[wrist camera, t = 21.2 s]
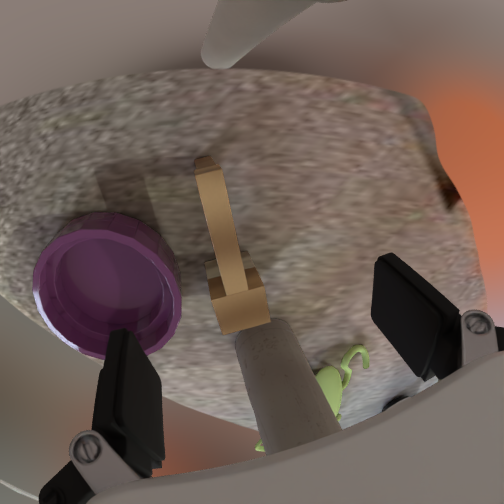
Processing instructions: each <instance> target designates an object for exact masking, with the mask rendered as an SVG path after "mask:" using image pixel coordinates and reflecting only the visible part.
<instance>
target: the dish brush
mask: <svg viewBox="0 0 504 504" xmlns="http://www.w3.org/2000/svg"><path fill="white" fill-rule="evenodd" d="M194 162H195V166H196V170H194V173H195V178H196V182H197V186H198V190H199V194H200V198H201V202H202V206H203V210H204V214H205V218H206V222H207V226H208V229H209V233H210V237H211V241H212V245H213V248H214V252H215V256H216V259H215V260H211V261H207V262H204V263H205V269H206V275H207V280H208V286H209V291H210V297H211V301H212V304H213V308H214V311H215V314H216V317H217V320H218V323H219V326H220V329H221V332H222V334H223V335H226V334H229V333H233V332H237V331H240V330H244V329H248V328H251V327H255V326H258V325H262V324H265V323H268V322H271V320H270V314H269V309H268V304H267V298H266V293H265V288H264V285H263V282H262V280H261V278H260V276H259V274H258V272H257V270H256V268H255V266H254V263H253V261H252V259H251V257H250V255H249V253H248V251H245V252H241V253H240V249H239V244H238V240H237V235H236V231H235V226H234V222H233V217H232V213H231V208H230V203H229V199H228V194H227V190H226V185H225V180H224V176H223V171H222V168H221V167H220V165H219V164H217V165H216V164H215V162H214V161H213V159H212V158H211V156H207V157H203V158H199V159H195V160H194Z"/></svg>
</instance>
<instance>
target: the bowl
mask: <svg viewBox="0 0 504 504" xmlns="http://www.w3.org/2000/svg"><path fill="white" fill-rule="evenodd" d="M32 291H33V295H34V299H35V302H36V306H37V309H38V311H39V313H40V315H41V316H42V318H43V319H44V321H45V323H46V324H47V326H48V327H49V328H50V330H51V331H52V332H53V333H54V334H56V335H57V336H58V337H59V338H60V339H61V340H62V341H63V342H64V343H65V344H67V345H69V346H70V347H72V348H74V349H76V350H77V351H79V352H81V353H83V354H85V355H88V356H92V357H95V358H99V359H102V360H105V355H106V350H107V345H108V340H109V335H110V332H111V331H113V330H117V329H122V328H126V329H127V330H128V331H132V332H133V333H134V335H135V337H136V338H137V340H138V342H139V344H140V345H141V347H142V349H143V350H144V352H145V354H146V356H147V355H149V354H151V353H153V352H155V351H157V350H159V349H161V348H162V347H163V346H164V345H165V344H166V343H167V342H168V341H169V340H170V339H171V337H172V336H173V335H174V334H175V331H176V329H177V326H178V324H179V322H180V319H181V274H180V270H179V267H178V264H177V261H176V259H175V256H174V253H173V251H172V250H171V249H170V248H169V246H168V245H167V244H166V242H165V241H164V240H163V238H162V237H161V236H160V235H159V234H158V233H157V232H155V231H154V230H153V229H151V228H150V227H148V226H147V225H146V224H144V223H143V222H141V221H139V220H137V219H134V218H131V217H128V216H125V215H122V214H119V213H109V212H94V213H90V214H87V215H84V216H81V217H79V218H76V219H73V220H72V221H70V222H69V223H68V224H67V225H66V226H65V227H63V228H62V229H61V230H60V231H59V232H58V233H57V234H56V235H55V236H54V237H53V239H52V240H51V241H50V242H49V244H48V245H47V246H46V247H45V249H44V250H43V251H42V253H41V255H40V257H39V259H38V261H37V264H36V266H35V268H34V271H33V289H32Z"/></svg>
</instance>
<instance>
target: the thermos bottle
mask: <svg viewBox="0 0 504 504" xmlns="http://www.w3.org/2000/svg"><path fill="white" fill-rule="evenodd" d="M270 320H271V322H268V323H265V324H262V325H258V326H255V327H251V328H248V329H244V330H242V331H241V332H240V333H239V335H238V336H237V339H236V342H235V348H236V353H237V357H238V360H239V364H240V367H241V371H242V374H243V378H244V382H245V385H246V389H247V392H248V396H249V399H250V402H251V405H252V408H253V410H254V413H255V417H256V421H257V425H258V430H259V433H260V436H261V440H262V443H263V446H264V450H265V453H266V456H267V455H271V454H274V453H278V452H281V451H285V450H288V449H291V448H294V447H297V446H300V445H303V444H306V443H309V442H312V441H315V440H318V439H320V438H323V437H326V436H328V435H331V434H334V433H336V432H339V431H341V430H342V428H341V426H340V424H339V422H338V420H337V418H336V416H335V414H334V413H333V411H332V409H331V407H330V405H329V403H328V401H327V399H326V397H325V395H324V393H323V391H322V389H321V387H320V385H319V383H318V381H317V379H316V378H315V376H314V374H313V372H312V370H311V367H310V365H309V363H308V361H307V359H306V357H305V355H304V353H303V351H302V349H301V347H300V345H299V343H298V341H297V339H296V337H295V335H294V333H293V331H292V329H291V327H290V326H289V325H288V324H287V323H286V322H284V321H282V320H279V319H272V318H270Z"/></svg>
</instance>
